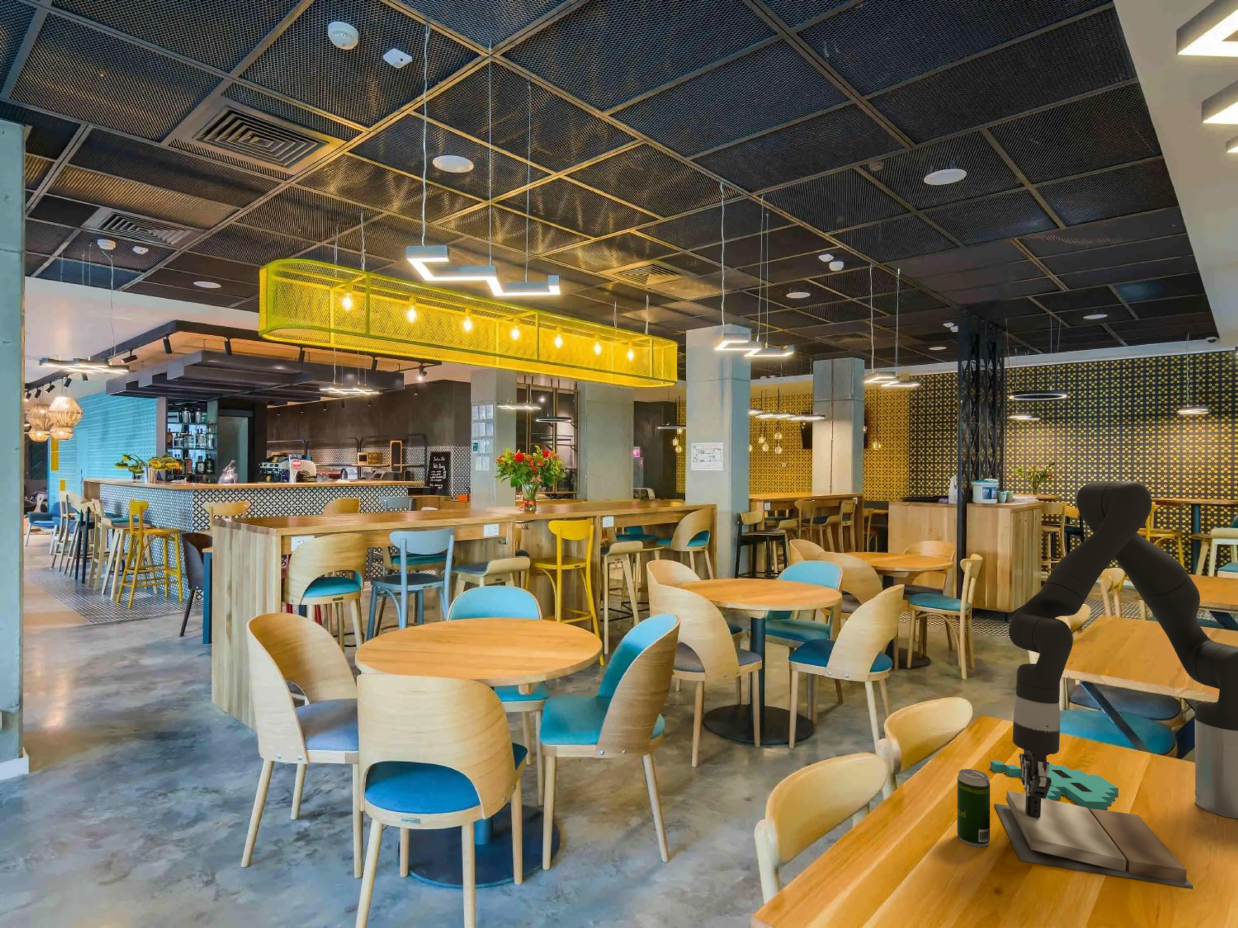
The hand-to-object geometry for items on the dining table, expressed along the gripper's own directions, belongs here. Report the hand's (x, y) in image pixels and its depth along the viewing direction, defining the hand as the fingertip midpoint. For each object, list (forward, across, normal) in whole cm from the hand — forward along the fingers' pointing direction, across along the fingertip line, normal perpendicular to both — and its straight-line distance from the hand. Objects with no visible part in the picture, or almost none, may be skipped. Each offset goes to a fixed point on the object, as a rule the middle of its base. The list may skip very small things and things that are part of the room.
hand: (1032, 815), depth 131 cm
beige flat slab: (+2, 0, -5) cm, 5 cm away
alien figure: (+4, +25, -11) cm, 28 cm away
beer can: (+4, -6, +11) cm, 13 cm away
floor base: (+3, 0, -8) cm, 9 cm away
